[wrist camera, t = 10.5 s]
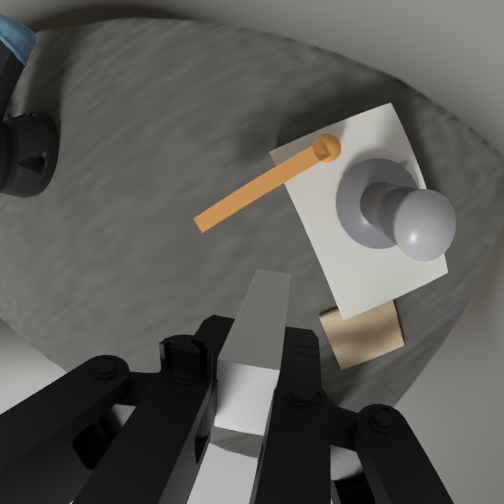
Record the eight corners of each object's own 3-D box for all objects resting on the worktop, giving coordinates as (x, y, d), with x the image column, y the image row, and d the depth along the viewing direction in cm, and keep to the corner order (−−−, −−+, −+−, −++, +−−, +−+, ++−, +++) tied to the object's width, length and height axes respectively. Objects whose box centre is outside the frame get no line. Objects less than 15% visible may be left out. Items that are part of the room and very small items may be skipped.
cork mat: (319, 315, 36) (319, 317, 36) (388, 287, 34) (389, 288, 33) (340, 367, 38) (341, 370, 38) (402, 343, 36) (404, 345, 35)
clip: (329, 130, 24) (331, 128, 23) (344, 154, 24) (346, 153, 23) (194, 212, 28) (190, 214, 27) (208, 234, 28) (205, 237, 27)
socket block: (272, 154, 32) (267, 151, 25) (377, 111, 28) (395, 99, 22) (337, 301, 35) (344, 326, 29) (431, 259, 32) (453, 276, 26)
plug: (321, 167, 31) (349, 165, 15) (392, 154, 29) (470, 148, 13) (337, 241, 33) (371, 306, 17) (404, 227, 31) (479, 276, 15)
